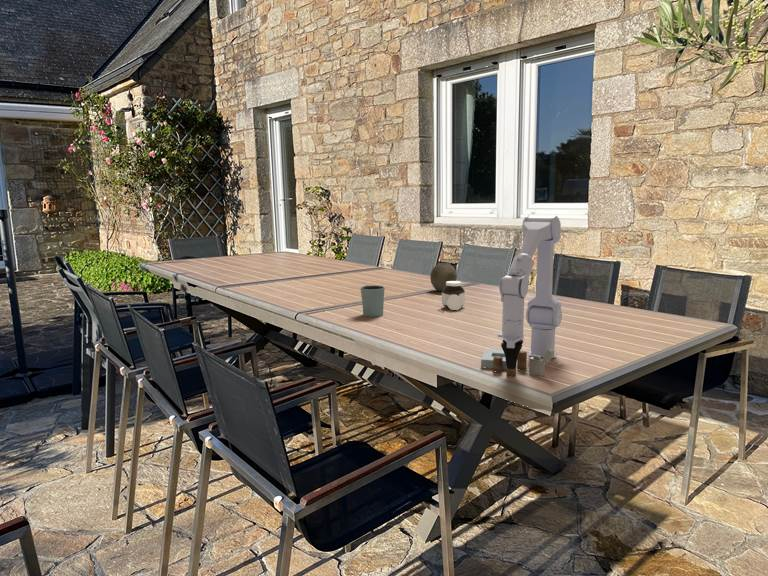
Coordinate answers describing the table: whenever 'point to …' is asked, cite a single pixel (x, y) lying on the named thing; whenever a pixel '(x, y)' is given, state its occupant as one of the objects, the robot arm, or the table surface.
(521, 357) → the medium dowel
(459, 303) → the spread jar
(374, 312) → the grey-green cup
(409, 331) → the table surface
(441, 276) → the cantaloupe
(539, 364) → the lighter
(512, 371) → the tall dowel
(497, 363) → the short dowel
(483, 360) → the socket block
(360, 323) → the table surface
